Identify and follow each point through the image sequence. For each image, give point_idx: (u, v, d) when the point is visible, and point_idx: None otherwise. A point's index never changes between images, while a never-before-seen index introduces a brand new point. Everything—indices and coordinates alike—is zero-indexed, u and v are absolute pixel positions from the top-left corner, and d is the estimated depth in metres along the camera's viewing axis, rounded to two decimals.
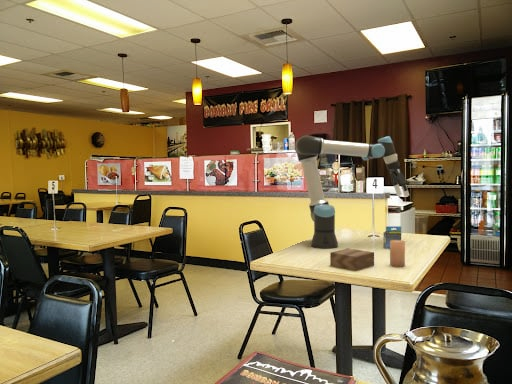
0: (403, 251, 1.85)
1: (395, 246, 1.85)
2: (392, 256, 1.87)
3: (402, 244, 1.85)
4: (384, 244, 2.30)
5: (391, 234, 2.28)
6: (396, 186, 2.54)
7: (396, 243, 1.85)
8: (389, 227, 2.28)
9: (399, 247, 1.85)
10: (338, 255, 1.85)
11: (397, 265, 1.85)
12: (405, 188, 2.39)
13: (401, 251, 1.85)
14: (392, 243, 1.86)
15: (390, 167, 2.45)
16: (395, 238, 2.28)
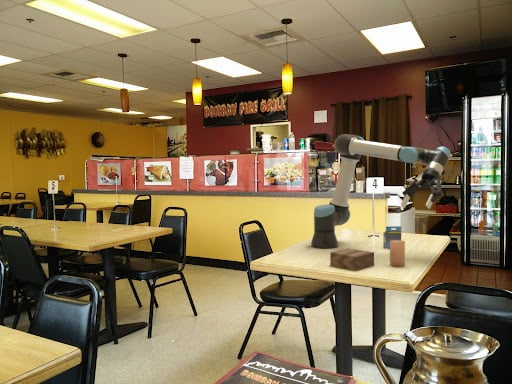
0: (403, 251, 1.85)
1: (395, 246, 1.85)
2: (392, 256, 1.87)
3: (402, 244, 1.85)
4: (384, 244, 2.30)
5: (391, 234, 2.28)
6: (407, 197, 2.02)
7: (396, 243, 1.85)
8: (389, 227, 2.28)
9: (399, 247, 1.85)
10: (338, 255, 1.85)
11: (397, 265, 1.85)
12: (434, 198, 1.90)
13: (401, 251, 1.85)
14: (392, 243, 1.86)
15: (432, 173, 1.99)
16: (395, 238, 2.28)
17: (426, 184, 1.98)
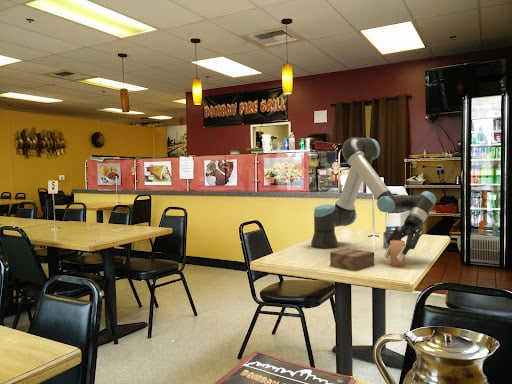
0: None
1: (395, 246, 1.85)
2: (392, 256, 1.87)
3: (402, 244, 1.85)
4: (384, 244, 2.30)
5: (391, 234, 2.28)
6: None
7: (396, 243, 1.85)
8: (389, 227, 2.28)
9: (399, 247, 1.85)
10: (338, 255, 1.85)
11: (397, 265, 1.85)
12: (406, 251, 1.84)
13: None
14: (392, 243, 1.86)
15: (415, 220, 1.90)
16: None
17: (408, 231, 1.90)
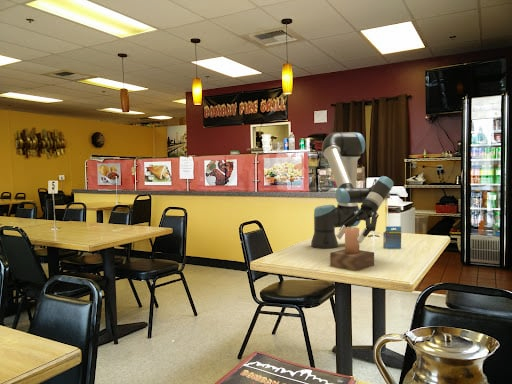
0: None
1: (349, 233, 1.85)
2: (346, 243, 1.86)
3: (356, 231, 1.85)
4: (384, 244, 2.30)
5: (391, 234, 2.28)
6: (344, 228, 1.93)
7: (350, 230, 1.85)
8: (389, 227, 2.28)
9: (353, 234, 1.85)
10: (338, 255, 1.85)
11: (351, 252, 1.85)
12: (367, 233, 1.81)
13: (355, 238, 1.85)
14: (346, 230, 1.86)
15: (370, 204, 1.90)
16: (395, 238, 2.28)
17: (363, 216, 1.90)
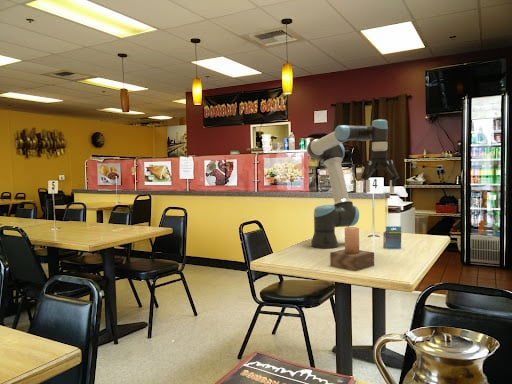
0: (357, 238, 1.85)
1: (349, 233, 1.85)
2: (346, 243, 1.86)
3: (356, 231, 1.85)
4: (384, 244, 2.30)
5: (391, 234, 2.28)
6: (368, 181, 2.14)
7: (350, 230, 1.85)
8: (389, 227, 2.28)
9: (353, 234, 1.85)
10: (338, 255, 1.85)
11: (351, 252, 1.85)
12: (394, 183, 2.04)
13: (355, 238, 1.85)
14: (346, 230, 1.86)
15: (381, 155, 2.05)
16: (395, 238, 2.28)
17: (380, 167, 2.08)
